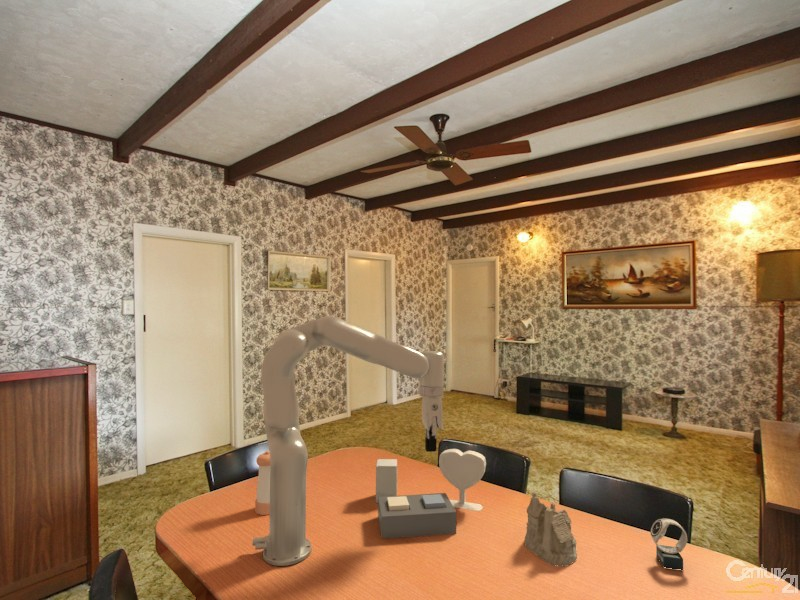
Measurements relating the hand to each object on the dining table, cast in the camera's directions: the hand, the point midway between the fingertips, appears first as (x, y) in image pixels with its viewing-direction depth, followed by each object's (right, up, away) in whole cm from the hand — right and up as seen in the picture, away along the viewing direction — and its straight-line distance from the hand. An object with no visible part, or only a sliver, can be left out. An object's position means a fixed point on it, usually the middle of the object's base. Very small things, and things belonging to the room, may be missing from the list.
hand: (430, 450), depth 128 cm
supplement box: (-14, -23, +17) cm, 32 cm away
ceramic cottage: (+34, -23, -13) cm, 42 cm away
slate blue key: (+1, -20, 0) cm, 20 cm away
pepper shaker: (-53, -23, +8) cm, 59 cm away
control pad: (-5, -22, -1) cm, 23 cm away
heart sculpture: (+12, -23, +12) cm, 28 cm away
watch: (+60, -22, -21) cm, 68 cm away
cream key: (-10, -20, -2) cm, 22 cm away
